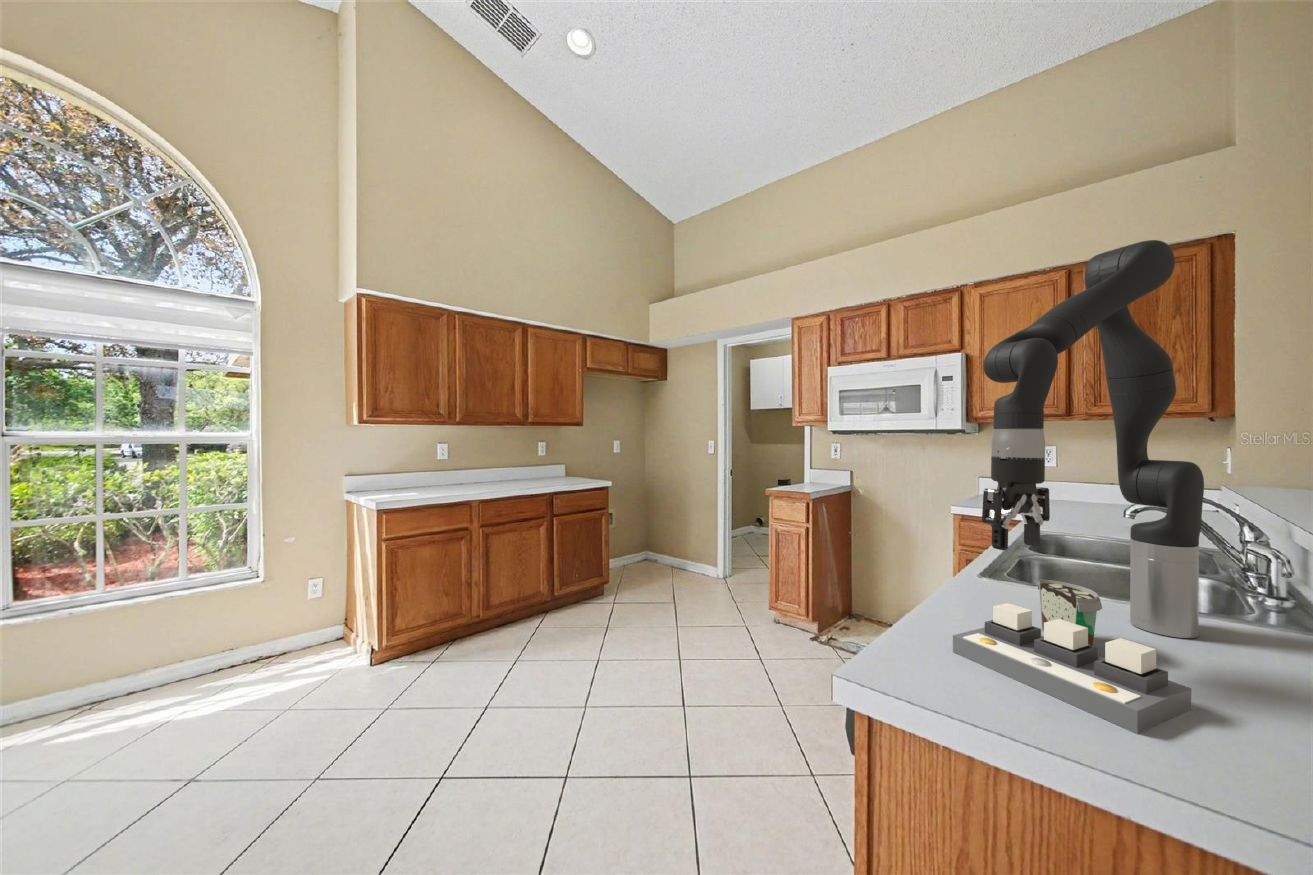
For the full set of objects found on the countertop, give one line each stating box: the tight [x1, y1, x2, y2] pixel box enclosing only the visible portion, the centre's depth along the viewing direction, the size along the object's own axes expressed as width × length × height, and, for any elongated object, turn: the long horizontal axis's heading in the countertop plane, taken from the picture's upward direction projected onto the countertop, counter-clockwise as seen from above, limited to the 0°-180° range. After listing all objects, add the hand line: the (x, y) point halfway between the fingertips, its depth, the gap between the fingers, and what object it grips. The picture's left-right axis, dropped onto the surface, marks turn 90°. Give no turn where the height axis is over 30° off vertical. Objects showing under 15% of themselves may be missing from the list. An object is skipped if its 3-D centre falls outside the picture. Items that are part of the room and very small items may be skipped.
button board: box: [952, 619, 1192, 735], centre depth 76 cm, size 14×25×5 cm, turn 22°
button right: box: [1104, 637, 1157, 674], centre depth 69 cm, size 4×4×3 cm
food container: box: [1037, 579, 1103, 647], centre depth 88 cm, size 12×6×10 cm, turn 168°
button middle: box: [1043, 619, 1088, 650], centre depth 76 cm, size 4×4×3 cm
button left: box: [992, 602, 1033, 630], centre depth 84 cm, size 4×4×3 cm
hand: (1016, 547), depth 83 cm, fingers open, 8 cm apart
